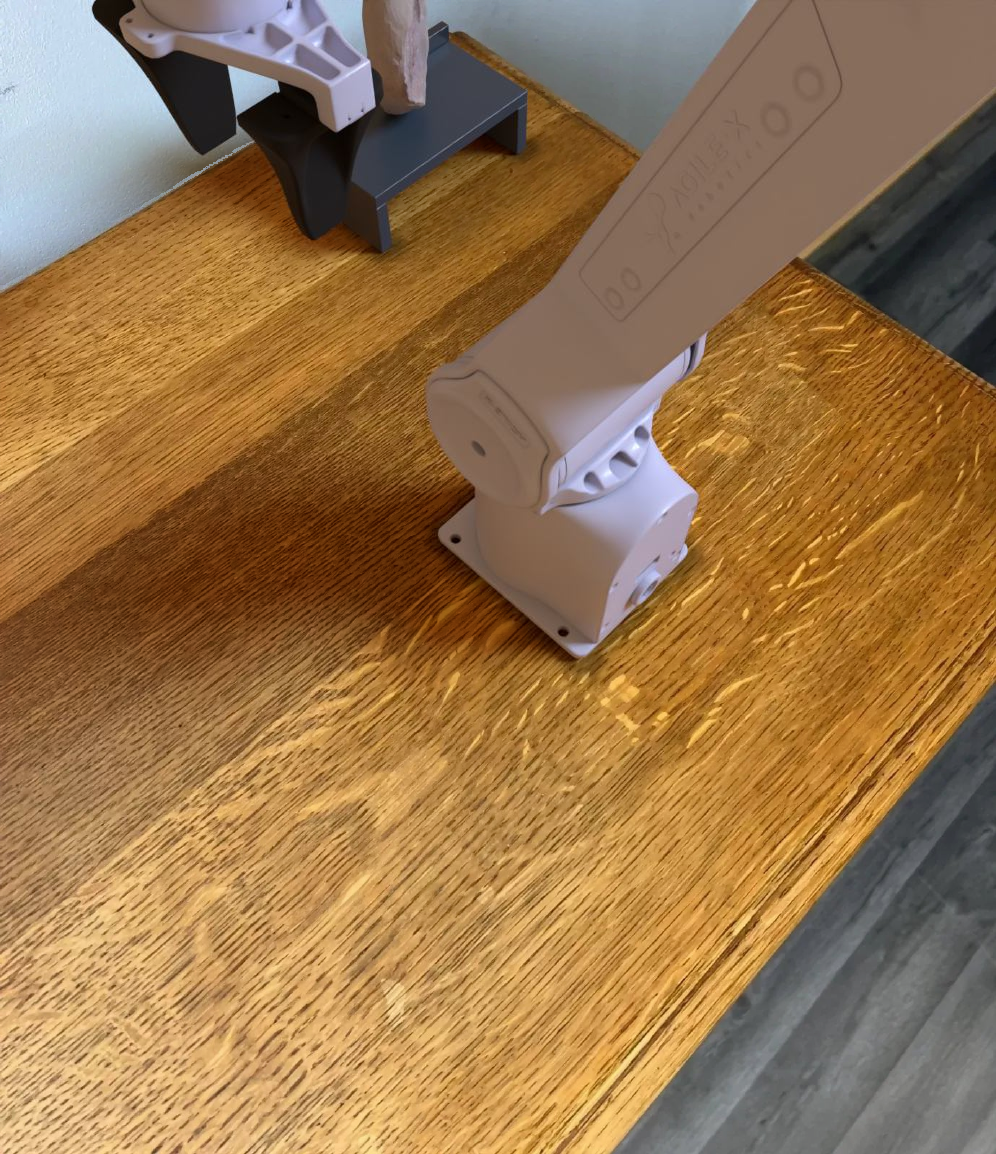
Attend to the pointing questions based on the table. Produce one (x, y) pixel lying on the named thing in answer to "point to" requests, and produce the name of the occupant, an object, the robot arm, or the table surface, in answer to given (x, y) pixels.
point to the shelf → (431, 132)
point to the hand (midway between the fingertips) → (268, 182)
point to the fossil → (398, 50)
